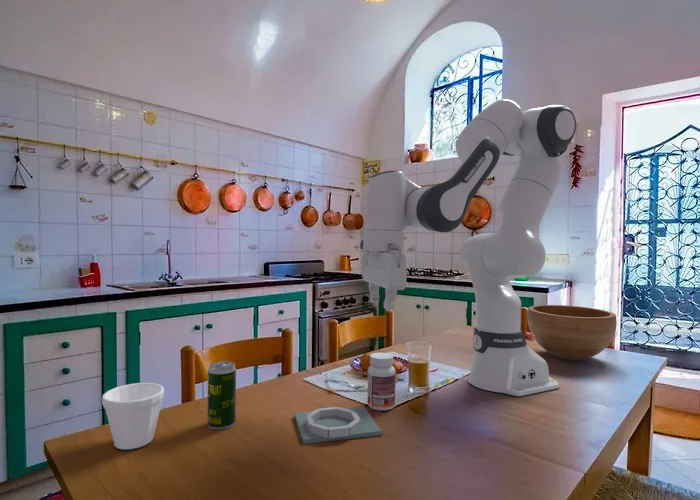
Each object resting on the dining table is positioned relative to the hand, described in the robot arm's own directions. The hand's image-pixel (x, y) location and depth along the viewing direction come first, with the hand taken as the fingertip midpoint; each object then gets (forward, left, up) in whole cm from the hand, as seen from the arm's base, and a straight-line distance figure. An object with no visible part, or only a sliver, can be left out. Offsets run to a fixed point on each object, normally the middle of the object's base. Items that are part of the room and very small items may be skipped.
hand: (381, 305), depth 95 cm
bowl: (-71, -22, -23) cm, 78 cm away
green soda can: (+34, +3, -23) cm, 41 cm away
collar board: (+12, +8, -22) cm, 27 cm away
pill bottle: (0, +1, -23) cm, 23 cm away
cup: (+49, +7, -23) cm, 54 cm away
